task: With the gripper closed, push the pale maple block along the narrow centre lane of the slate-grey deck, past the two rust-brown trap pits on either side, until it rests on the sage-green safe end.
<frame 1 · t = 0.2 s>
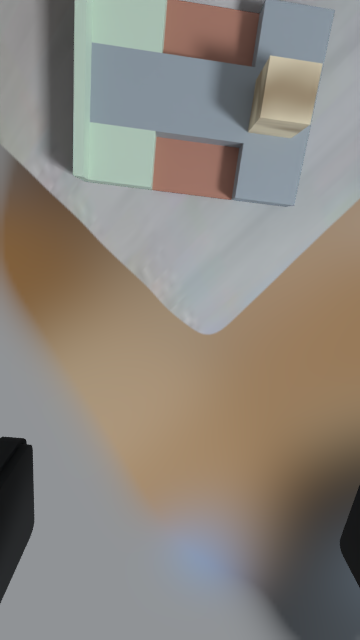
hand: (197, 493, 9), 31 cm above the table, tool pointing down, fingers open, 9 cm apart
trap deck: (197, 108, 32), on the table
maple block: (273, 109, 31), point 2 cm above the table, touching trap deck
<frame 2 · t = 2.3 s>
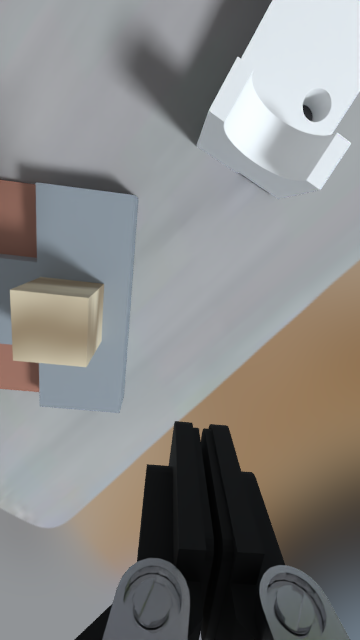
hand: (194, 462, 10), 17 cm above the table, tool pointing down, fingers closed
bracket: (286, 87, 22), on the table
maple block: (72, 310, 23), point 2 cm above the table, touching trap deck
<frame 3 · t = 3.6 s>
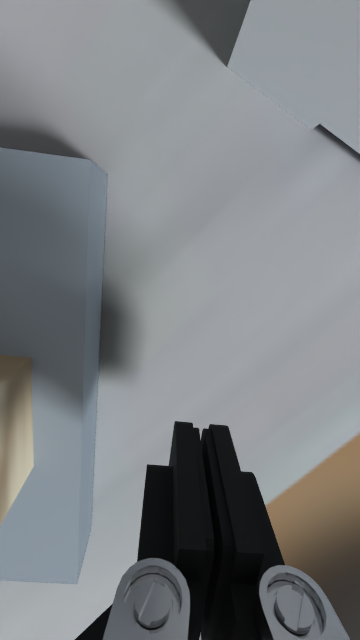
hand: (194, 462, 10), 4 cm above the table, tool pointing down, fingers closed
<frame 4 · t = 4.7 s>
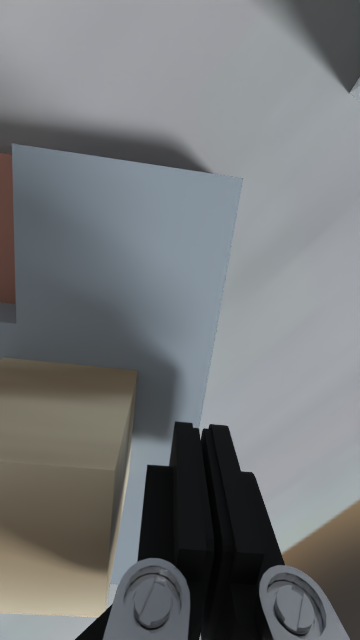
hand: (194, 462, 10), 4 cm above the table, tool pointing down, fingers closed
maple block: (70, 420, 11), point 3 cm above the table, touching gripper
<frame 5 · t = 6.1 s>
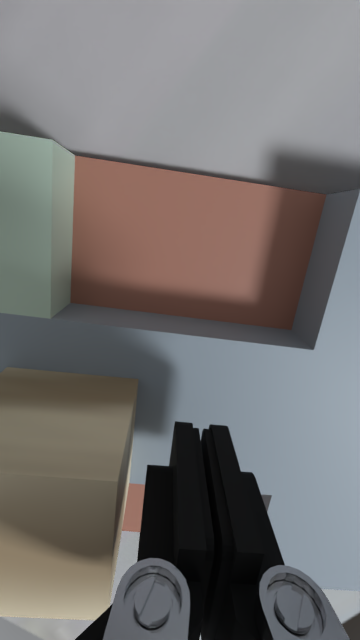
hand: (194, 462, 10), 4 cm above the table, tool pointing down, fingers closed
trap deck: (161, 382, 14), on the table
maple block: (72, 427, 11), point 3 cm above the table, touching gripper
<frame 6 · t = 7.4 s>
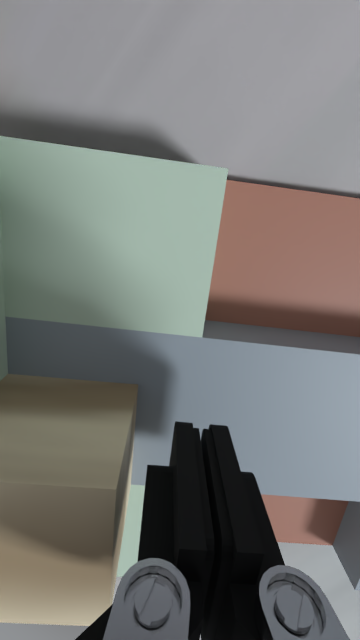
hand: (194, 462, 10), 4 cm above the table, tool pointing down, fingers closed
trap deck: (273, 393, 14), on the table
maple block: (73, 433, 11), point 3 cm above the table, touching gripper, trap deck
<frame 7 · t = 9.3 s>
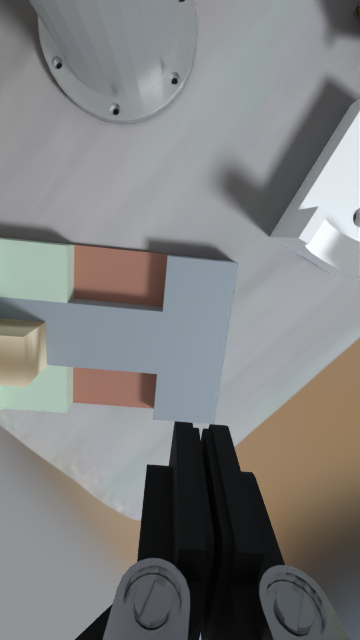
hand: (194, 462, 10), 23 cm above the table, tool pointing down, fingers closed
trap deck: (113, 331, 32), on the table
bracket: (335, 194, 30), on the table
maple block: (22, 342, 30), point 2 cm above the table, touching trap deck
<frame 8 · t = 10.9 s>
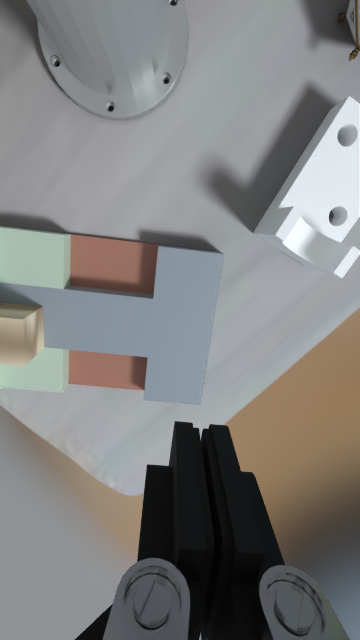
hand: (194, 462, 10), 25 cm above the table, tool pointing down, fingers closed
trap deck: (107, 317, 34), on the table
bracket: (315, 194, 32), on the table
maple block: (21, 325, 32), point 2 cm above the table, touching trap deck
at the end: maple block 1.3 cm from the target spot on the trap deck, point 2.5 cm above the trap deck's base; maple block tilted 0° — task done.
